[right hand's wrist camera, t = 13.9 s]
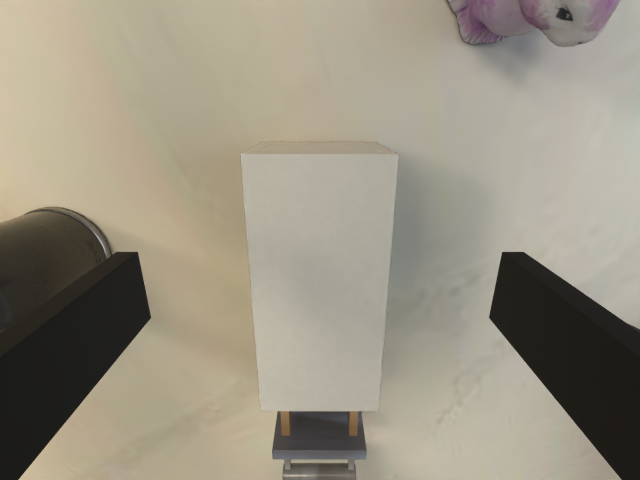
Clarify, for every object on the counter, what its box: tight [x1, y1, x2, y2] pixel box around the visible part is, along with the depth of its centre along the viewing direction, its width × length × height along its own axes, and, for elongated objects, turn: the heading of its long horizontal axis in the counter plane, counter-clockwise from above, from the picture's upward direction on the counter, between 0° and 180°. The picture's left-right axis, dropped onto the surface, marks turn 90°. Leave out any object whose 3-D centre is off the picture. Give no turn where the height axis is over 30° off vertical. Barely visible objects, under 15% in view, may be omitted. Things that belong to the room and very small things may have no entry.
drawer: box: [272, 411, 367, 480], centre depth 34 cm, size 26×9×7 cm, turn 0°
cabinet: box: [240, 142, 399, 411], centre depth 30 cm, size 22×10×9 cm, turn 0°
